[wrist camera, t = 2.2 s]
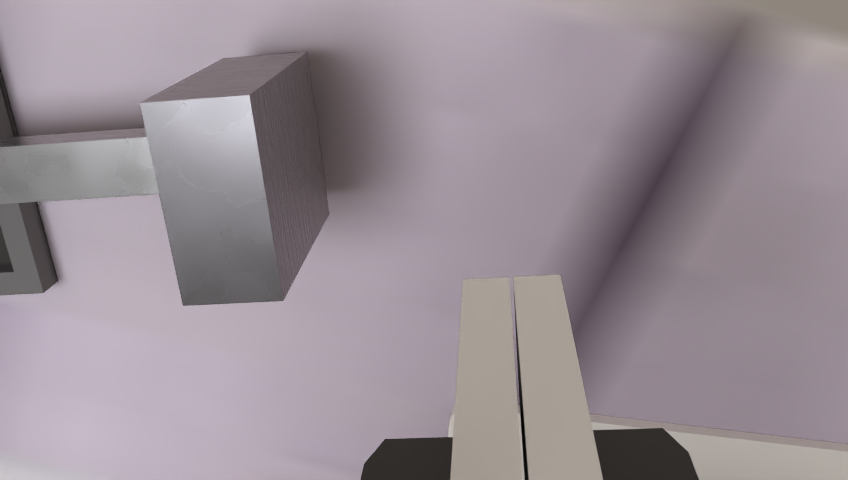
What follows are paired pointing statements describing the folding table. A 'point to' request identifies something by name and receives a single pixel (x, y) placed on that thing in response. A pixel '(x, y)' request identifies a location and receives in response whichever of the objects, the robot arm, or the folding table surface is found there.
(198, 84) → the dark grey block
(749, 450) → the tablet stand
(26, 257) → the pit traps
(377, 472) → the robot arm
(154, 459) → the folding table surface
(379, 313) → the folding table surface
